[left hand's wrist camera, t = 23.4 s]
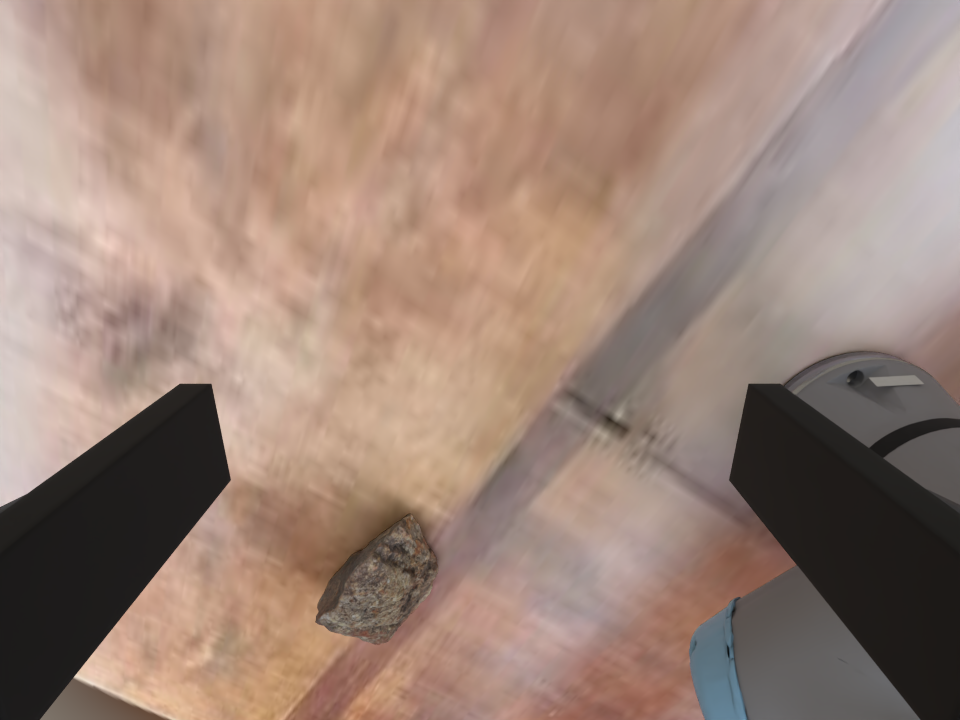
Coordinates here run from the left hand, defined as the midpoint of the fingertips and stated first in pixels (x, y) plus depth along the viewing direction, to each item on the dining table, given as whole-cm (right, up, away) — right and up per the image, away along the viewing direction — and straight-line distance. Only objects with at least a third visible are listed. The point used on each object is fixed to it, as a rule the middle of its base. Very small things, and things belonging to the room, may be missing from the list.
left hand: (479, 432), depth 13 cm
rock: (-9, -18, +38) cm, 43 cm away
